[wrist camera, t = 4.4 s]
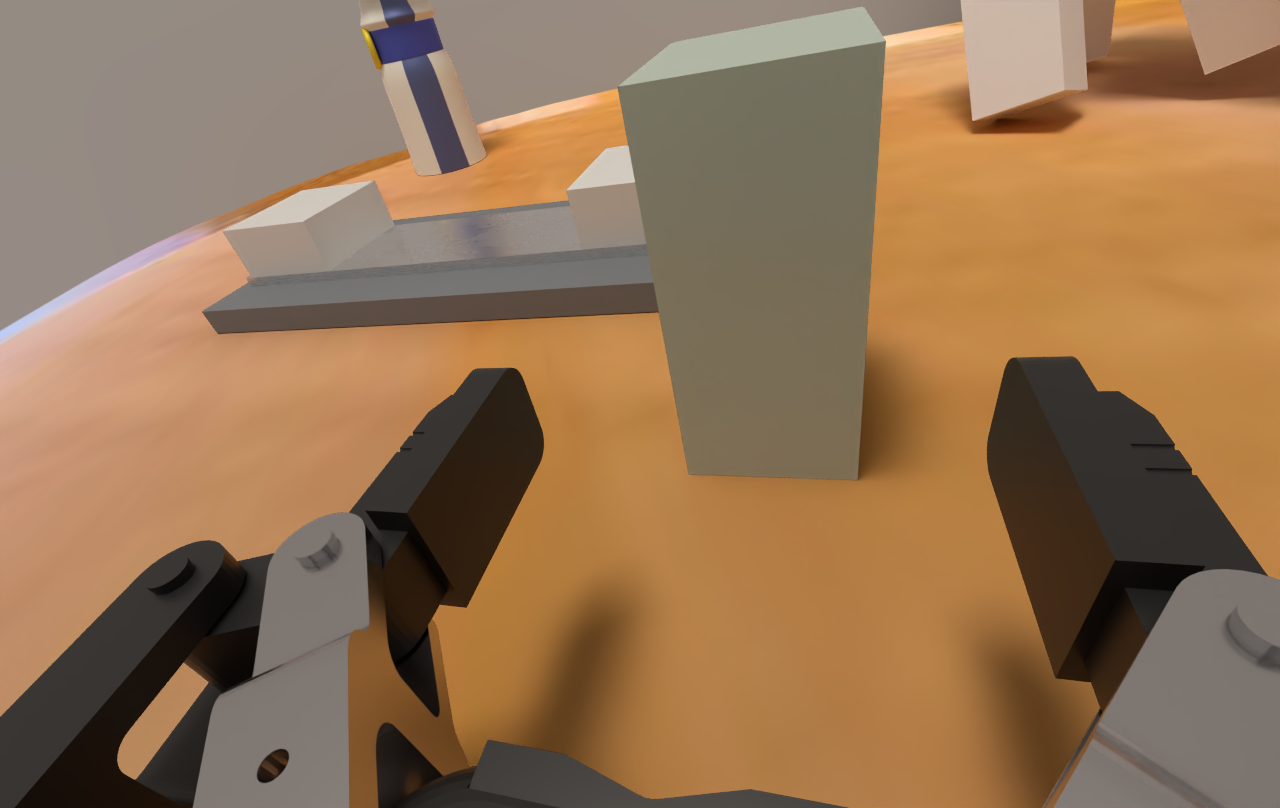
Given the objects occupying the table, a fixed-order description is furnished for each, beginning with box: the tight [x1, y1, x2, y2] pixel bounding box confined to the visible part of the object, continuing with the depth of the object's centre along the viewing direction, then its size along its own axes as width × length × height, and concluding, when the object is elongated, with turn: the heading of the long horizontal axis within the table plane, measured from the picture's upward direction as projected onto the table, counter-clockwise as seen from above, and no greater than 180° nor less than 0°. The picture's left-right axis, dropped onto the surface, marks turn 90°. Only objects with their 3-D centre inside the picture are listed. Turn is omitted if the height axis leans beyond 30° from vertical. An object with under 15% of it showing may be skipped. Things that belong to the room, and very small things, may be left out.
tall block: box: [618, 7, 886, 480], centre depth 16 cm, size 5×6×11 cm
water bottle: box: [358, 0, 487, 176], centre depth 54 cm, size 8×9×25 cm
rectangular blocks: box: [223, 145, 646, 278], centre depth 33 cm, size 28×7×3 cm, turn 77°
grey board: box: [202, 201, 659, 333], centre depth 35 cm, size 31×13×2 cm, turn 77°
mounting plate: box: [246, 206, 648, 287], centre depth 34 cm, size 29×7×1 cm, turn 77°
